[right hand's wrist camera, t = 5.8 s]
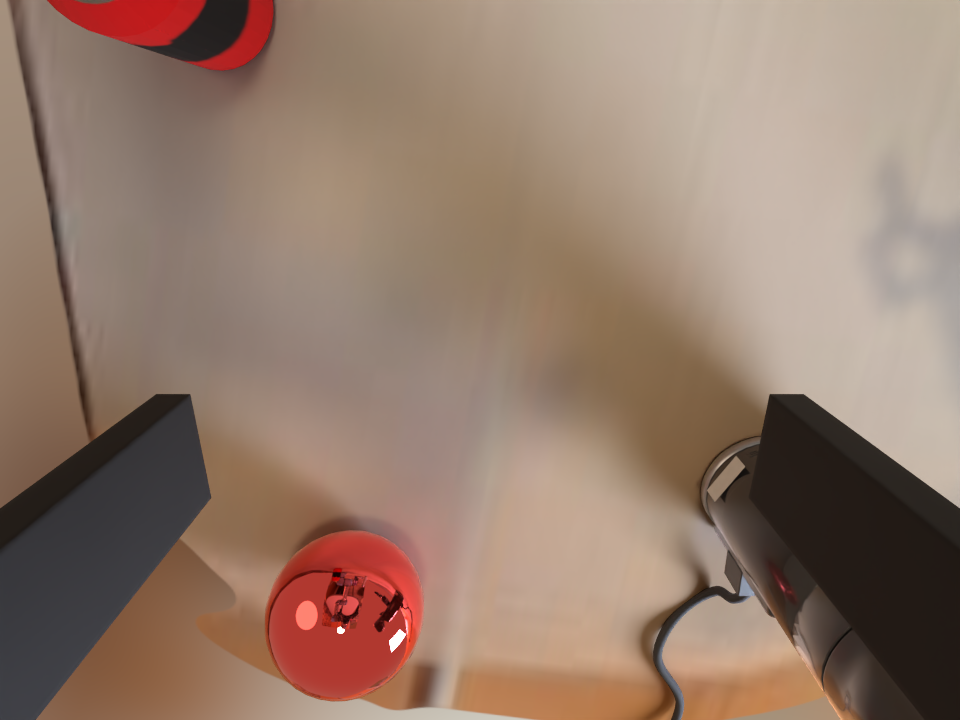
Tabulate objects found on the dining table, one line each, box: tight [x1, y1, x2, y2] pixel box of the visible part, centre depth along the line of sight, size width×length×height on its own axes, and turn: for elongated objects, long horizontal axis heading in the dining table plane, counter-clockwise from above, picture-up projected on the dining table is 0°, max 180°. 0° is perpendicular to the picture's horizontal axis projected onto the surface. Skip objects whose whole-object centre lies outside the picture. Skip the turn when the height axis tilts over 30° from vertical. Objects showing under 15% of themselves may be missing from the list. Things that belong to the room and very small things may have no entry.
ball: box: [265, 530, 424, 701], centre depth 42 cm, size 12×12×12 cm
